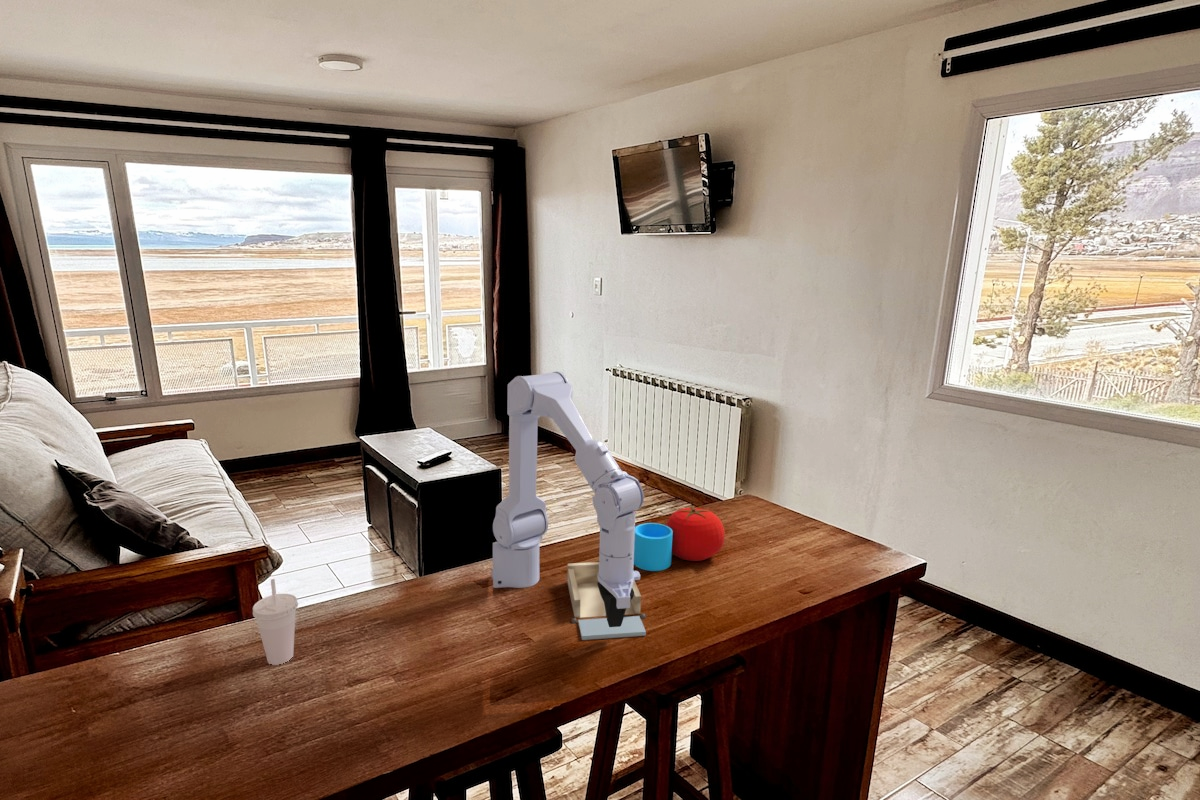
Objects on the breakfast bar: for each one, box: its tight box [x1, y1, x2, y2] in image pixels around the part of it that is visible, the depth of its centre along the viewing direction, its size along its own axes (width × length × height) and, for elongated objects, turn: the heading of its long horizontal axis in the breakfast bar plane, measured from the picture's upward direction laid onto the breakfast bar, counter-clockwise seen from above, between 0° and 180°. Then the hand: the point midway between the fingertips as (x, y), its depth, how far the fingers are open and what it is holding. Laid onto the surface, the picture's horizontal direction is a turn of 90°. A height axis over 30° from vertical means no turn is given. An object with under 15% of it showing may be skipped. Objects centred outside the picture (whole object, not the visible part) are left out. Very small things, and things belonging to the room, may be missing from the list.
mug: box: [634, 522, 673, 572], centre depth 136 cm, size 12×8×8 cm
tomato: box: [665, 505, 726, 562], centre depth 139 cm, size 12×13×11 cm
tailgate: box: [577, 615, 647, 641], centre depth 110 cm, size 11×1×5 cm
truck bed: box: [566, 561, 646, 624], centre depth 119 cm, size 13×15×5 cm
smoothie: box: [252, 578, 299, 666], centre depth 100 cm, size 6×6×14 cm
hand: (614, 624), depth 107 cm, fingers closed
